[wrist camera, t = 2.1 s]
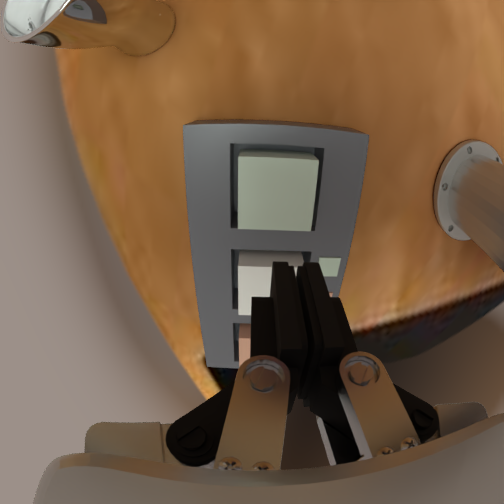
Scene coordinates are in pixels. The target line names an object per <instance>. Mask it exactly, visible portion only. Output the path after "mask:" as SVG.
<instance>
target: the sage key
mask: <svg viewBox="0 0 504 504" xmlns="http://www.w3.org/2000/svg"><path fill="white" fill-rule="evenodd" d="M318 165H319V160H318V159H317V158H316V157H315V156H314V155H313V154H312V153H311V152H298V151H282V150H259V149H241V150H240V153H239V156H238V229H256V230H287V231H311V226H312V218H313V210H314V202H315V193H316V184H317V175H318Z"/></svg>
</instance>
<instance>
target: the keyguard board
mask: <svg viewBox="0 0 504 504" xmlns="http://www.w3.org/2000/svg"><path fill="white" fill-rule="evenodd" d="M183 141H184V163H185V181H186V196H187V210H188V222H189V233H190V243H191V253H192V263H193V271H194V280H195V288H196V296H197V303H198V311H199V318H200V325H201V331H202V338H203V344H204V350H205V356H206V362H207V367H222V368H239V328H240V323H247V324H251V315H238V262H239V252H240V249H241V250H276V251H301V252H302V256H303V260H304V262H318V263H319V264H320V267H321V270H322V273H323V276H324V279H325V282H326V285H327V288H328V291H329V294H330V297H338V295H339V292H340V288H341V284H342V280H343V276H344V272H345V268H346V264H347V260H348V256H349V251H350V247H351V242H352V238H353V233H354V228H355V223H356V218H357V213H358V208H359V202H360V196H361V191H362V185H363V178H364V172H365V165H366V158H367V150H368V142H369V135H368V134H365V133H363V132H360V131H357V130H354V129H352V128H346V127H338V126H330V125H322V124H312V123H301V122H288V121H270V120H197V121H193V122H190V123H188V124H185V125H183ZM241 149H259V150H282V151H298V152H311V153H312V154H313V155H314V156H315V157H316V158H317V159H318V160H319V165H318V175H317V184H316V193H315V202H314V210H313V218H312V226H311V231H287V230H256V229H238V156H239V153H240V150H241Z"/></svg>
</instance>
